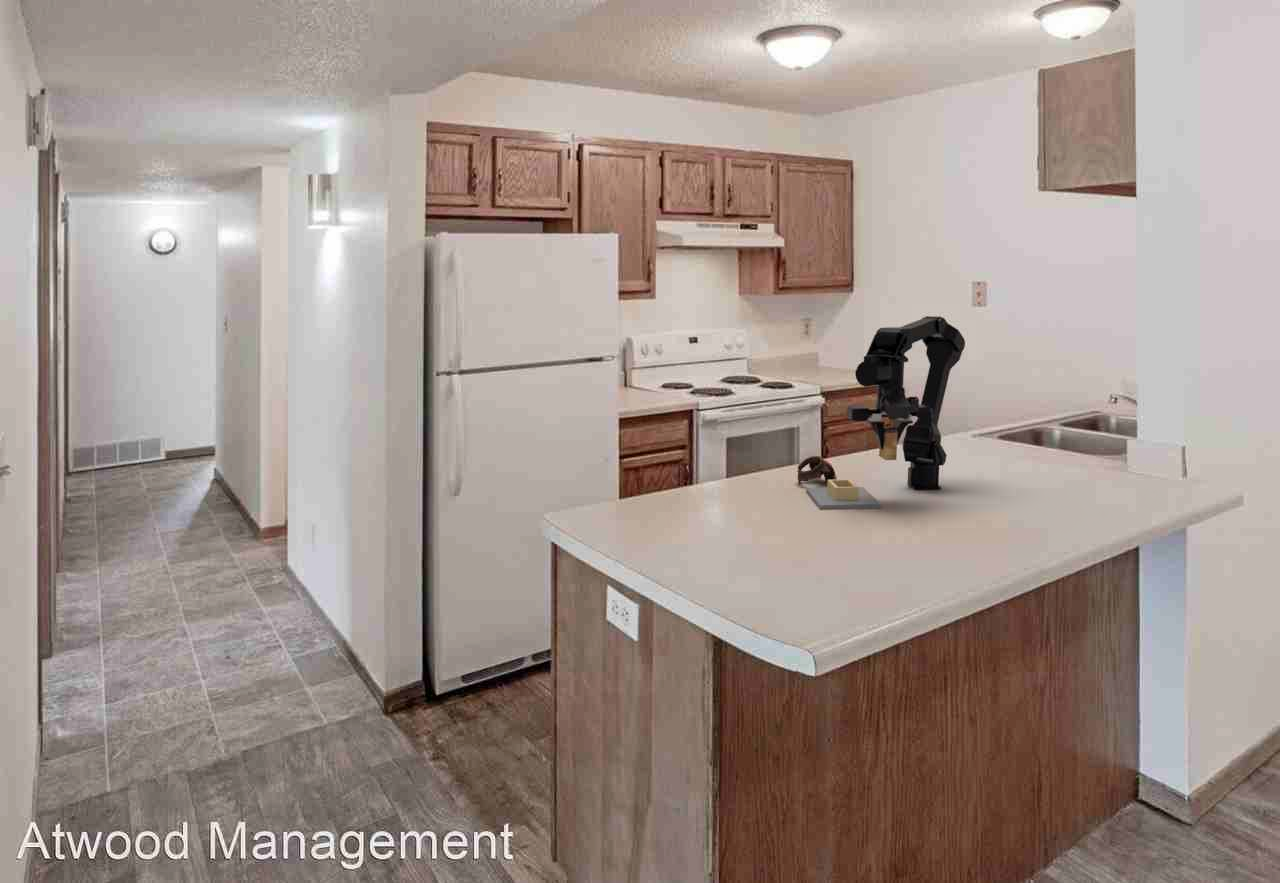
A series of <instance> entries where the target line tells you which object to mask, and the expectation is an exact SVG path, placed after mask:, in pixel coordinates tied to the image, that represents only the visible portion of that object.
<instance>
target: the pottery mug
mask: <svg viewBox="0 0 1280 883" xmlns="http://www.w3.org/2000/svg"><path fill="white" fill-rule="evenodd" d="M806 466H808V468H810V469H808V470H803V469H804V468H805V467H806ZM796 472H797V482H798V485H801V483H802V482H809V481H812V480H815V479H820V480H822V476H823V477H824V481H825V482H827V481H828V480H837V475H836V472H835V468H834V467H833V465H832V464H831V463H830V462H829V461H828V460H825V459H824V458H823V456H820V455H814V456H813V455H812V456H809V457H807V458H805V459H803V460H802V461H801V462H800V463H799V464H798V465H797V471H796Z"/></svg>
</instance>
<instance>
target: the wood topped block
mask: <svg viewBox="0 0 1280 883" xmlns="http://www.w3.org/2000/svg"><path fill="white" fill-rule="evenodd" d="M897 433H898V430H896V429H894V428H893V426H883V438H884V446H883V450H881V449H880V447H878V450H879V452H878V457H880V458H882V459H883V460H885V461H897V453H898V451H897V449H898V444H897Z"/></svg>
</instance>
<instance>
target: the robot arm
mask: <svg viewBox="0 0 1280 883" xmlns="http://www.w3.org/2000/svg"><path fill="white" fill-rule="evenodd" d="M919 341H922V343H923V344H924V346H925V347H926V351H925V355H926V357H927V360H928V363H929V368H928V373H927V377H926V381H925V385H924V390H923V394H922V397H921V402H920V399H919V398H918V396H909V397H906V390H905V389H906V388H905V387H904V376H905V375H904V374H905V363H908V362H909V357H907V356H906V355H905V354H906V352H909V350H911V349H912V348H913V344H914V343H916V342H919ZM965 347H966V341H965V338H964V337H963V335H962V333H961V331H960V330H959V329H957V327H955V326H953V325H951V324H950V323H948V322H947V320H946V319H945V318H944V317H942V316H929V315H927V316H924V317H922V318H921V319H918V320H915V321H912V322H911V323H910V322H909V323H907V324H905V325H902V326H899V327H896V326H895V327H894V326H893V327H880V328H878V329H877V330H876V333H875V334H874V336H873V338H872V341H871V343H870V345H869V348H868V350H867V352H866V355H864V356H863V361H862V362H860V363H859V364H858V365H857V367H856V370H855V374H854V375H855V378H856V381H857V382H858V383H859V385H861V386H863V387H866V388H867V387H873V386H875V391H876V402H875V404H874V405H875V406H874V407H875V408H869V407H867V406H865V405H848V407H847V408H846V412H845V418H847V419H849V420H851V422H862V421H863V422H867V423H869V424H870V426H871V428H872V431H873V432H874V435H875V437H876V441H877V444H878V446H879V447H880V449H881V450H883V446H884V438H883V427H885V426H884V425H885V421H883V420H882V419H883V418H885V417H886V418H888V419H890V420H892V427H893V428H894V429H896V430H898V433H897V445H898V443H899V441H900V439H901V437H902V434H903V433H904V431H905V435H904V438H903V440H902V451H903V457H904V462H909V463H910V464H909V466H910V467H907V485H909V486H910V487H911V488H913V490H941V488H942V486H940V485H939V480H940V466H944V465H945V464H946V461H947V453H946V451H945V449H944V448H943V446H942V444H941V442H942V435H941V432H940V430H939V426H938V424H939V419H940V415H941V412H942V406H943V403H944V398H945V395H946V394H945V393H946V389H947V386H948V380H949V377H950V373H951V369H952V368H953V367H955V366H956V364H957V363H958V362H959V361H960V360H961V357H962V354H963V351H964V350H965ZM882 417H883V418H882ZM912 417H916V418H917V420H916V421H915V422H914V421H913V420H912ZM905 429H906V430H905ZM879 447H878V448H879Z"/></svg>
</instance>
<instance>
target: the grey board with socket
mask: <svg viewBox="0 0 1280 883" xmlns="http://www.w3.org/2000/svg"><path fill="white" fill-rule="evenodd" d="M826 482H827V484H826V485H827V486H826V487H807V488H805V490H806V491H805V493H806V494H807V495H808V496H809V498H810V497H811V498H810V499H811V500H812V501H813V503H814V502H815V503H814V504H815V505H816V507H819V508H818V509H819V510H853V509H854V510H855V509H856V510H857V509H859V510H860V509H862V510H863V508H864V509H882V503H881V502H880V501H879V499H877V498H875V497H874V496H873V495H872V494H871V493H870V492H869V491H868V490H867V489H866V488H865V487H864V486H858V485H857V484H855V482H854V481H853V480H851V479H849V478H847V479H846V478H843V479H837V480H828V481H826Z"/></svg>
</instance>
